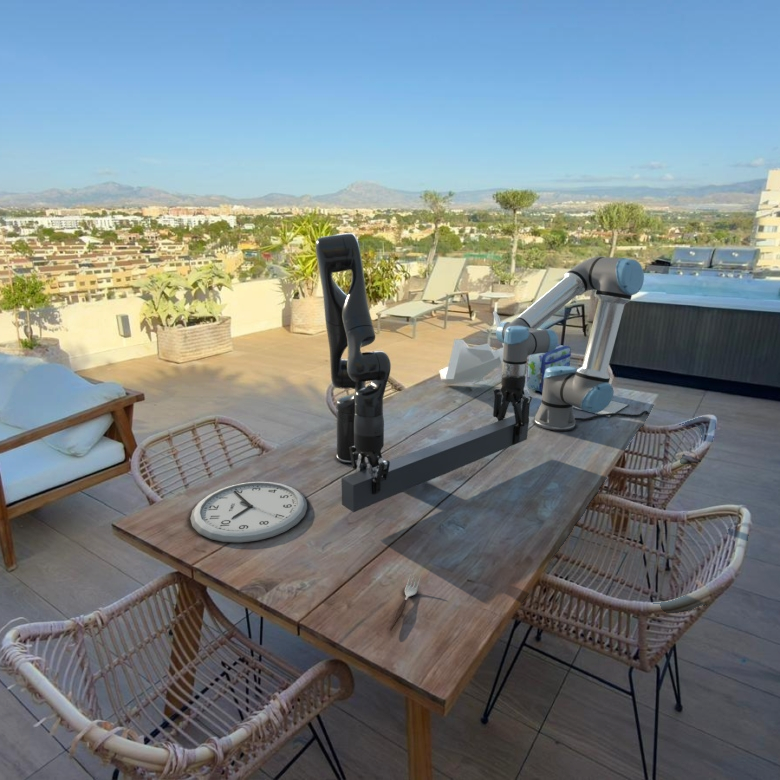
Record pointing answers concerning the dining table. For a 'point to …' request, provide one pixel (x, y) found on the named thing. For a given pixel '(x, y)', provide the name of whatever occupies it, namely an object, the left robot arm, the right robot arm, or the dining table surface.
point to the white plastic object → (473, 362)
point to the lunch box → (545, 365)
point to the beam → (429, 463)
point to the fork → (409, 592)
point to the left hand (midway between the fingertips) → (369, 489)
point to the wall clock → (248, 512)
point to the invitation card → (611, 408)
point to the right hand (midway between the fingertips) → (508, 440)
